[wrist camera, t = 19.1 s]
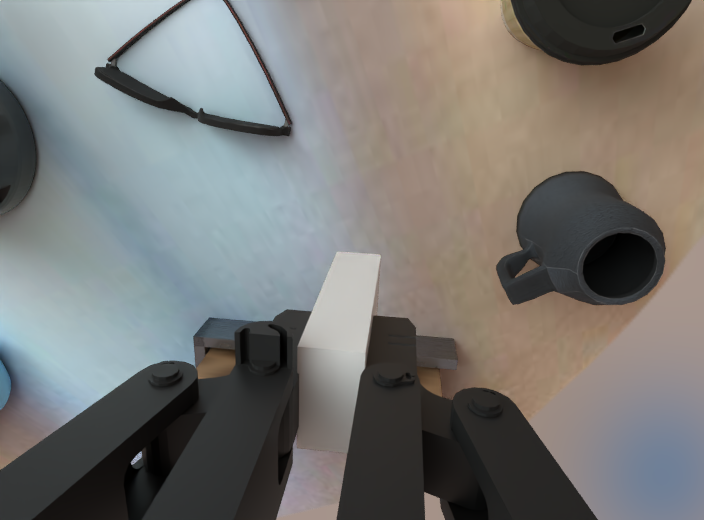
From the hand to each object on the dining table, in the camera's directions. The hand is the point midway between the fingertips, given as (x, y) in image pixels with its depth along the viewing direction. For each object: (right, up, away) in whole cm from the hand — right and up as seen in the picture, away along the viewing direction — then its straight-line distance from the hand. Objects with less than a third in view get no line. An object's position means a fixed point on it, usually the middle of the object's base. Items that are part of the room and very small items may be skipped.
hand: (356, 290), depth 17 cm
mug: (+18, +4, +27) cm, 33 cm away
